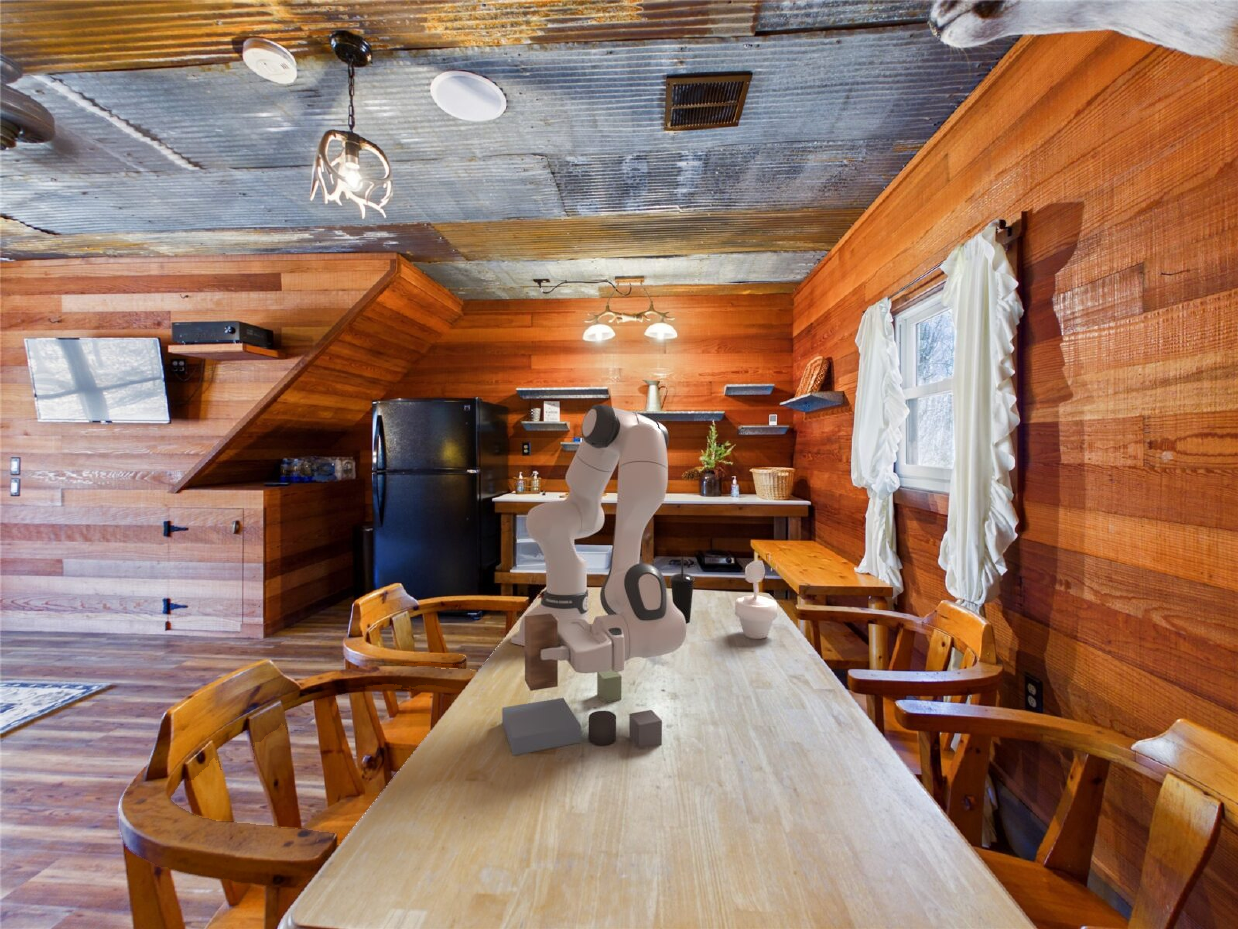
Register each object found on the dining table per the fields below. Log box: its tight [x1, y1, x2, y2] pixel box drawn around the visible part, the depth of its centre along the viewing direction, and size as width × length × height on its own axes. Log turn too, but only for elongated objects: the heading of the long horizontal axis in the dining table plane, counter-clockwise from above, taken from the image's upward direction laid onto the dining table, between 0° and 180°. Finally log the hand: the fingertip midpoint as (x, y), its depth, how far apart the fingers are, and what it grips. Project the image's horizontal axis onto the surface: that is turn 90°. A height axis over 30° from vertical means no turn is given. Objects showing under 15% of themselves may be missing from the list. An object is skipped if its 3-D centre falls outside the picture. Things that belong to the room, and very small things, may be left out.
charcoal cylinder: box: [587, 710, 617, 747], centre depth 98 cm, size 5×5×4 cm
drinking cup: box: [669, 556, 696, 624], centre depth 168 cm, size 8×8×20 cm
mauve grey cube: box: [628, 709, 663, 750], centre depth 97 cm, size 4×4×4 cm
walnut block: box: [524, 613, 559, 691], centre depth 100 cm, size 5×5×12 cm
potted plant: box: [734, 554, 778, 640], centre depth 155 cm, size 13×12×25 cm
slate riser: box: [501, 697, 582, 756], centre depth 100 cm, size 12×12×3 cm
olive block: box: [596, 670, 622, 704], centre depth 115 cm, size 4×4×5 cm
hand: (536, 648), depth 99 cm, fingers closed on walnut block, 5 cm apart
